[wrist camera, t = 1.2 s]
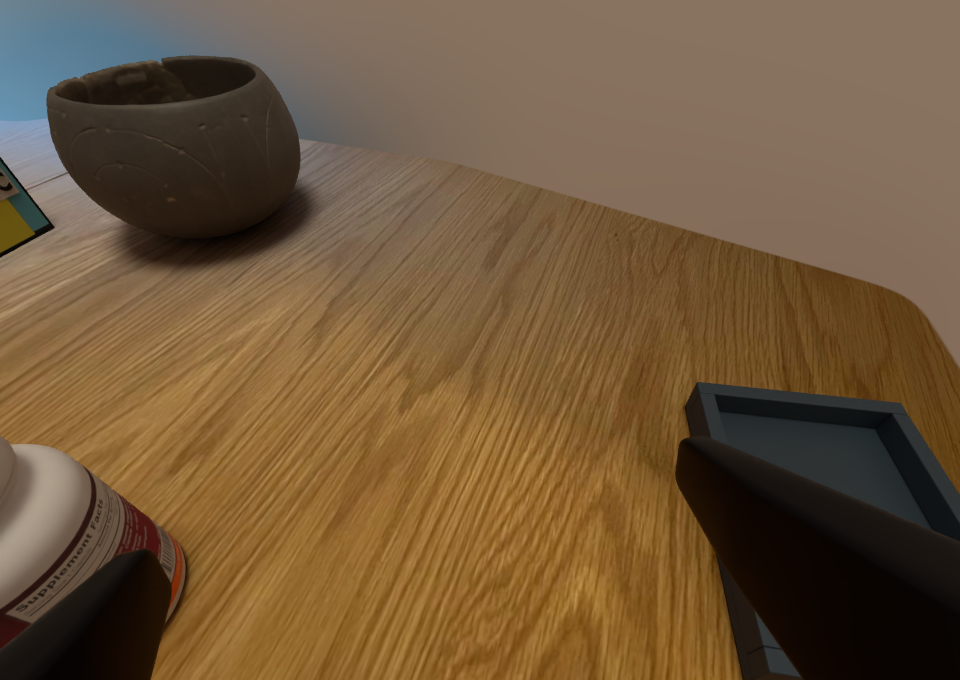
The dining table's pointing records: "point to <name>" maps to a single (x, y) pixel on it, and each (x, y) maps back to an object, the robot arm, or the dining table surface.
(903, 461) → the dish
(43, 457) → the pill bottle
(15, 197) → the carton
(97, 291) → the dining table surface
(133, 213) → the bowl
